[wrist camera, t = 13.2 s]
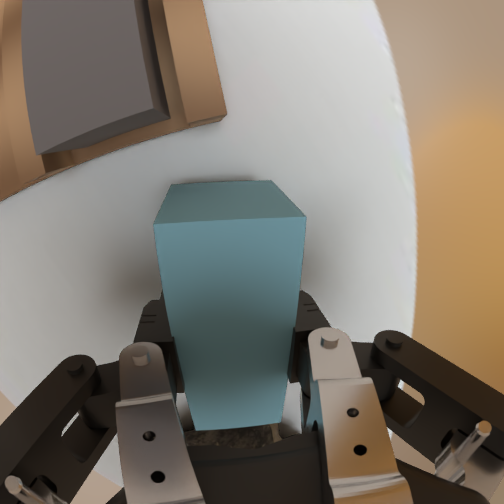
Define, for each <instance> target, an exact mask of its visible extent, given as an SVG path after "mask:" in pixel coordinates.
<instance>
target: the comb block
mask: <svg viewBox="0 0 504 504" xmlns="http://www.w3.org/2000/svg"><path fill="white" fill-rule="evenodd" d="M148 4H149V11H150V16H151V22H152V28H153V33H154V39H155V44H156V49H157V55H158V60H159V65H160V70H161V75H162V79H163V84H164V89H165V94H166V98H167V103H168V107H169V112H170V116H171V119H168V120H164V121H161V122H158V123H154V124H151V125H148V126H145V127H141V128H138V129H135V130H132V131H129V132H126V133H123V134H121V135H118V136H115V137H112V138H109V139H107V140H104V141H101V142H99V143H96V144H94V145H91V146H89V147H86V148H79V149H72V150H65V151H59V152H53V153H47V154H42V155H36V153H35V148H34V143H33V139H32V134H31V128H30V123H29V117H28V111H27V104H26V96H25V88H24V78H23V66H22V45H21V19H22V0H0V201H2V200H4V199H6V198H8V197H10V196H12V195H13V194H15V193H17V192H19V191H21V190H23V189H25V188H27V187H29V186H31V185H33V184H35V183H37V182H40V181H42V180H44V179H46V178H48V177H50V176H53V175H55V174H57V173H59V172H62V171H64V170H66V169H69V168H71V167H74V166H76V165H78V164H81V163H83V162H86V161H88V160H91V159H94V158H96V157H99V156H102V155H104V154H107V153H110V152H113V151H115V150H118V149H121V148H124V147H127V146H130V145H133V144H136V143H139V142H143V141H146V140H149V139H152V138H156V137H159V136H163V135H166V134H170V133H173V132H177V131H181V130H184V129H188V128H192V127H196V126H200V125H205V124H209V123H213V122H218V121H221V120H222V119H223V118H224V117H225V116H226V115H227V111H226V106H225V101H224V97H223V92H222V88H221V83H220V78H219V74H218V69H217V65H216V60H215V55H214V51H213V46H212V42H211V37H210V33H209V28H208V24H207V19H206V15H205V10H204V6H203V1H202V0H148Z"/></svg>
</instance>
